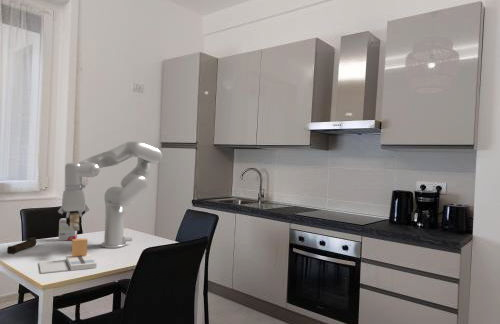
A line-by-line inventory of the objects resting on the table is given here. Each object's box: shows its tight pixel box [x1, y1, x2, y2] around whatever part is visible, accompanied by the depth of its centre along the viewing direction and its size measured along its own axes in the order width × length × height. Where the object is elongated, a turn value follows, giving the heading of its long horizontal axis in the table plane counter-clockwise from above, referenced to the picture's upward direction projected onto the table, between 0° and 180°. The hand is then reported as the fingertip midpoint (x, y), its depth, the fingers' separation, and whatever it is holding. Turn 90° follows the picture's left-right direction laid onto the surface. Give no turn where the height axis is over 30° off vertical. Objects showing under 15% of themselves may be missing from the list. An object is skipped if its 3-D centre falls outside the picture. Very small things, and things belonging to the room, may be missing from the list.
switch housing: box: [65, 252, 97, 271], centre depth 168 cm, size 10×18×2 cm, turn 32°
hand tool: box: [6, 236, 37, 255], centre depth 188 cm, size 19×4×5 cm, turn 174°
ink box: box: [58, 217, 78, 242], centre depth 211 cm, size 9×5×12 cm, turn 101°
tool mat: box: [38, 259, 69, 275], centre depth 161 cm, size 10×16×1 cm, turn 32°
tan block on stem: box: [69, 212, 80, 232], centre depth 183 cm, size 4×14×6 cm, turn 32°
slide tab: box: [71, 238, 88, 256], centre depth 173 cm, size 6×3×7 cm, turn 122°
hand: (74, 224), depth 186 cm, fingers closed on tan block on stem, 4 cm apart
